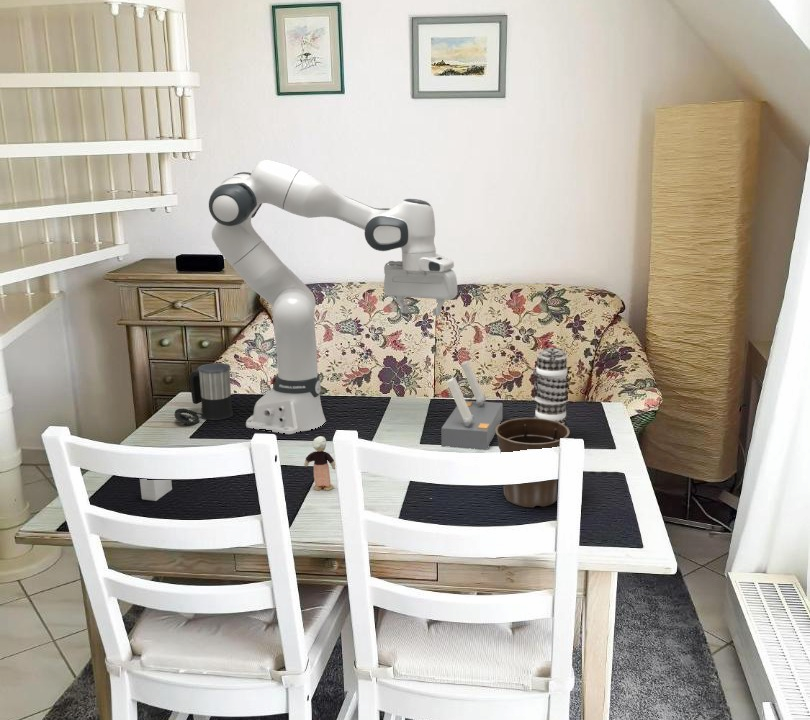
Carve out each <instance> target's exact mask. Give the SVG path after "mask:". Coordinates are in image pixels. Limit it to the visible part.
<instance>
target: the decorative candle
mask: <svg viewBox="0 0 810 720" xmlns="http://www.w3.org/2000/svg"><path fill="white" fill-rule="evenodd" d="M568 358H569V355H568V354H567V353H566V352H565V350H563V348H562V349H561V348H558V347H545V348H543V349H540V351H539V353H537V354H536V366H535V369H534V370H533V374H534V375H533V378H532V379H533V380H534V382H535V383H534V384H533V387H534V389H533V392H534V395H535V396H534V401H535V407H536V408H535V415H533V418H541V419H548V420H553V421H556V422H559V423H561V424H563V425H565V426H566V427H568V424H567V421H568V418H567V410H566V403H567V402H568V399H569V398H568V395H569V392H568V390H566V389H568V388H569V387H570V384H569V381H571V380H570V378H569V377H567V374H569V373H570V370H569V369H568V366H567V364H568V361H567V359H568Z"/></svg>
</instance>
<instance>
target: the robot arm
mask: <svg viewBox="0 0 810 720" xmlns="http://www.w3.org/2000/svg"><path fill="white" fill-rule="evenodd" d="M263 204H269V205H272V206H275V207H277V208H279V209H281V210H283V211H285V212H288V213H291V214H293V215H296V216H300V217H304V218H307V219H309V218H310V219H311V218H322V217H323V218H325V217H326V218H332V219H333V218H334V219H337V220H341V221H343V222H345V223H347V224H350V225H353V226H355V227H358V228H359V229H361V230H363V231H364V238H365V241H366V243H367V245H369V247H370V248H372V249H373V250H376V251H379V252H388V251H391V250H395V249H399V248H400V249H401V257H402V258H401V260H398V261H397V260H396V261H394V260H389V261H388V262H386V263H385V264H384V267H383V274H384V281H383V292H384V294H385V295H386V296H388V297H396V301H397V303H398V305H399V307H400V312H401V314H408V313H409V312H410V311H409V310H410V307H409V306H410V305H407V304H406V303H405V301H404V300H405V299H406V298H415V299H416V298H418V299H429V300H430V299H433V300H436V301H435V302H436V303H437V306H436V307H434V308H433V309H432V316H437V317H439V316H441V314H442V307H444V304H445V301H447V300H453V299H455V298H456V296H457V295H458V281H457V275H456V272H455V271H454V270H453V268H454V267H455V264H454V263H455V262H454V260H453V259H451V258H450V259H449V258H448V257H445V256H442V255H440V254H437V252H436V251H437V250H436V249H437V248H436V245H435V236H436V221H435V214H434V208H433V206H432V204H430V203H429V202H428V201H425V200H422V199H415V198H406V199H403V200H402V201H401V202H400V203H399V204H397V205H394V207H392V208H385V207H384V208H383V207H382V208H377V207H372V206H369V205H367V204H365V203H362V202H360V201H358V200H355V199H353V198H350V197H348V196H346V195H344V194H342V193H340V192H338V191H337V190H335V189H333V188H332V187H330V186H329V185H327V183H326V184H325V183H324V182H323V181H321V180H319V179H318V178H316V177H314V176H313V175H311V174H309V173H307V172H306V171H303V170H301V169H299V168H296V167H293V166H291V165H290V164H289V165H288V164H285V163H283V162H278V161H276V160H275V161H274V160H270V159H263V160H261V161H259V162H258V163H257V164H256V165H255V166H254V167H253V169H252V171H251V172H247V171H243V172H238V173H235V174H233V175H232V176H230V177H228V178H227V179H226V178H225V180H223V181H222V182H221V184H220V185H219V186H217V187H216V188H215V189H214V190H213V191H212V193H211V195H210V197H209V200H208V210H209V212H210V216H211V217H212V218H213V219H214V221H216V223H215V224H214V226H213V228H212V231H211V238H212V240H213V242H214V244H215V246H216V248H217V249H218V251H219V252H220V254H221V255H222V256H223V257H224V259H225V261H226V262H227V263H228V264H229V265H230V266H231V267H232V268H233V270H234V271H235V272H236V273H237V274H238V275H239V277H240V278H241V279H242V281H244V282H245V283H246V285H247V286H248V287H249V288H250V289H251V290H252V291H254V293H255V292H256V293H257V294H258V295H259V296H260V297H261V298H262V299H264V300H265V301H266V302H267V304H269V305H270V306H271V307H272V313H271V314H272V323H273V324H272V325H273V332H274V333H273V334H274V339H275V340H274V341H275V347H276V348H275V349H276V358H277V360H276V361H277V362H276V363H277V373H276V374H275V376H274V377H272V378H271V380H270V381H269V382H270V383H269V384H270V385H271V386H273V387H272V388H271V389H270V390H269V391H267V392H266V393H265V394H264V395H263V396H262V397H260V398H259V399H258V400H257V401H256V402H255V404H254V408H253V414H252V415H250V417H248V418H247V419H246V422H245V426H246V428H248V429H253V428H254V429H255V430H259V429H266V430H272V432H271V433H278V432H279V433H278V434H283V433H285V434H284V435H294V434H297V433H300V431H301V432H307V431H311V429H313V430H315V428H316V429H319V428H321V427H323V426H324V425H325V424H326V423H327V420H326V417H325V414H324V410H323V407H322V403H321V402H322V401H321V395H320V394H321V381H320V380H321V377H320V374H319V370H318V349H317V340H316V339H317V338H316V325H315V312H316V311H315V310H316V309H315V308H316V297H315V295H314V293H313V292H312V290H311V289H310V288H309V287H308V286H307V285H306V284H305V283H304V282H303V281H302V280H301V279H300V278H299V276H298V275H296V273H294V272H293V271H292V270H291V269H290V268H289V266H287V265H286V264H285V263H284V262H282V260H281V259H280V258H279V257H278V256H277V254H276V253H275V252H274V250H272V248H271V247H270V246H269V245H268V244H267V242H266V241H265V240H264V239H263V238H262V237H261V236H260V235H259V233H257V231H256V230H255V228H254V227H253V224H252V219H253V218H255V216H256V214H257V213H258V211H259V209H260V208H261V207H262V205H263ZM325 422H326V423H325ZM324 423H325V424H324ZM323 424H324V425H323ZM322 425H323V426H322ZM320 426H321V427H320ZM318 427H319V428H318ZM254 429H253V430H254ZM296 432H297V433H296Z"/></svg>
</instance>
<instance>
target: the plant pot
mask: <svg viewBox="0 0 810 720" xmlns="http://www.w3.org/2000/svg"><path fill="white" fill-rule="evenodd" d="M570 432H571V431H570V429H569V427H568V426H565V425H563V424H561V423H559V422H556V421H553V420H548V419H541V418H534V417H520V418H513V419H508V420H505V421H502V422H501V424H499V425H498V426H497V427H496V429H495V435H496V436H497V443H498V448H499V451H500V453H501V452H513V451H520V450H527V449H542V448H552V447H557V446H559V439H560V438H567V439H568V438H569V436H570ZM503 496H504V497H505V499H506V501H508V502H509V503H510V504H514V505H515V506H519V507H524V508H536V506H539V507H541V508H544V507H548V506H551V505H553V504H555V503H556V502H557V501H558V499H557V480H551V481H545V482H537V483H527V484H518V485H506V486H503Z"/></svg>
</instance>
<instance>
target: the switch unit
mask: <svg viewBox="0 0 810 720" xmlns="http://www.w3.org/2000/svg"><path fill="white" fill-rule="evenodd" d="M465 401H466V403H467V406H468V408H469V410H470V412H471V414H472V415H473V416H474V419H473V421H472V423H471V424H470V425H469V426H466V425H464V423H463V421H464V420H463V418H462V415H461V413H460V411H459V409H458V406H457V405H456V406H455V408H454V409H453V411H452V413H450V415H449V416H448V418H447V419H446V421H445V422H444V424H443V425H442V427H441V428H440V429H441V430H440V431H441V435H440V437H441V438H440V439H441V441H440V442H441V447H445V446H450V447H449V448H457V447H458V448H459V449H469V448H471V450H481V449H487V448H488V449H489V447H488V446H490V445H491V443H492V441H493V439H494V436H495V435H496V433H495V429H496V427H497V426H498V425H499V424H500V423H502V422H503V415H504V414H503V411H504V409H503V406H504V404H503V402H494V401H493V402H491V401H490V402H489V401H484V403H483V405H481V406H479V405H477V404H476V401H475V400H465ZM501 421H502V422H501ZM490 442H491V443H490ZM489 444H490V445H489ZM474 448H475V449H474ZM488 449H487V450H488Z"/></svg>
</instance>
